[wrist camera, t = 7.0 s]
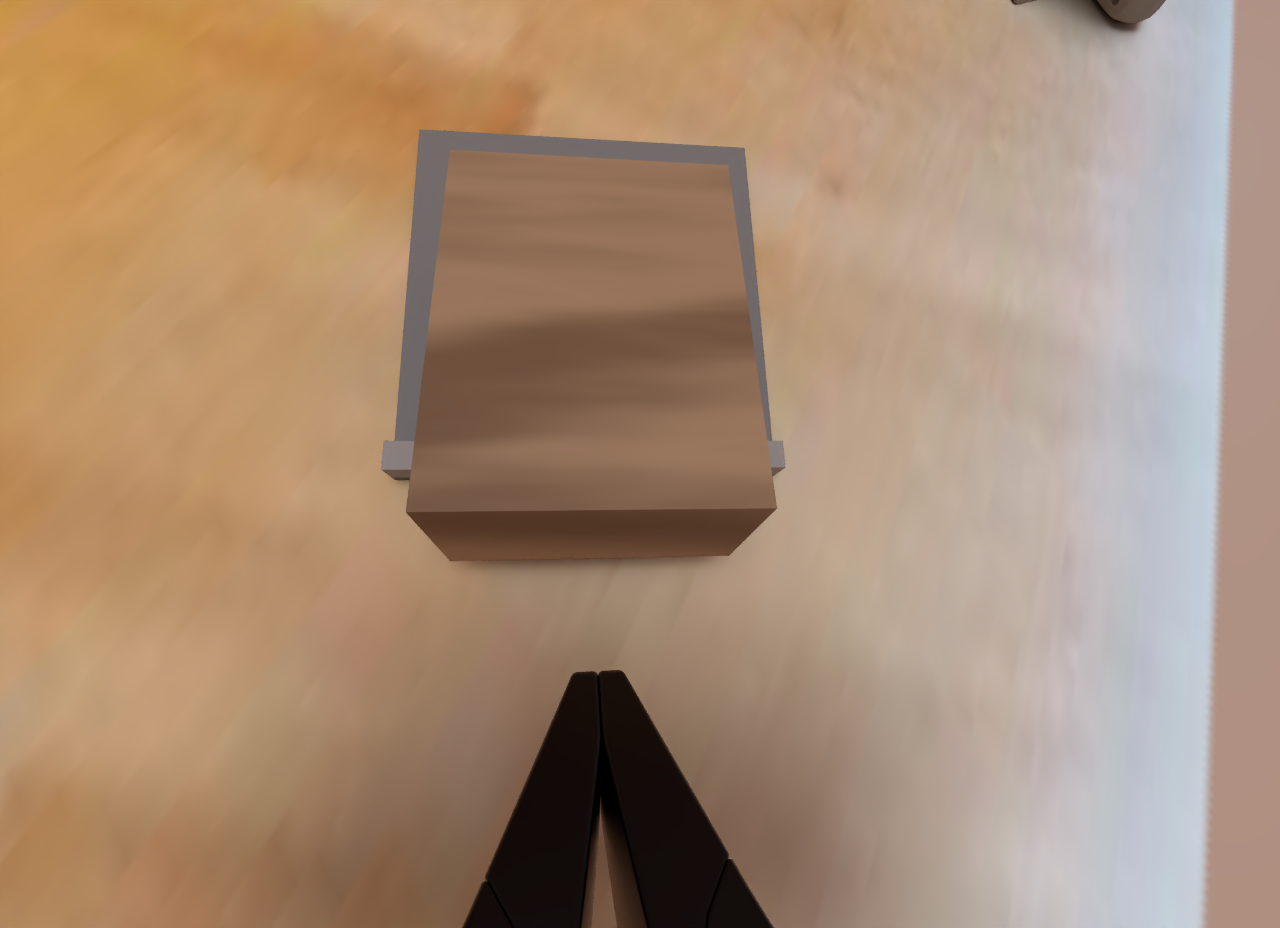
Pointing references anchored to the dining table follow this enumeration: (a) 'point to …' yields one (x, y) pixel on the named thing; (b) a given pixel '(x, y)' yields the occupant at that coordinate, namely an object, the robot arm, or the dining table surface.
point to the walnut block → (588, 365)
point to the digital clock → (1125, 9)
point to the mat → (440, 143)
